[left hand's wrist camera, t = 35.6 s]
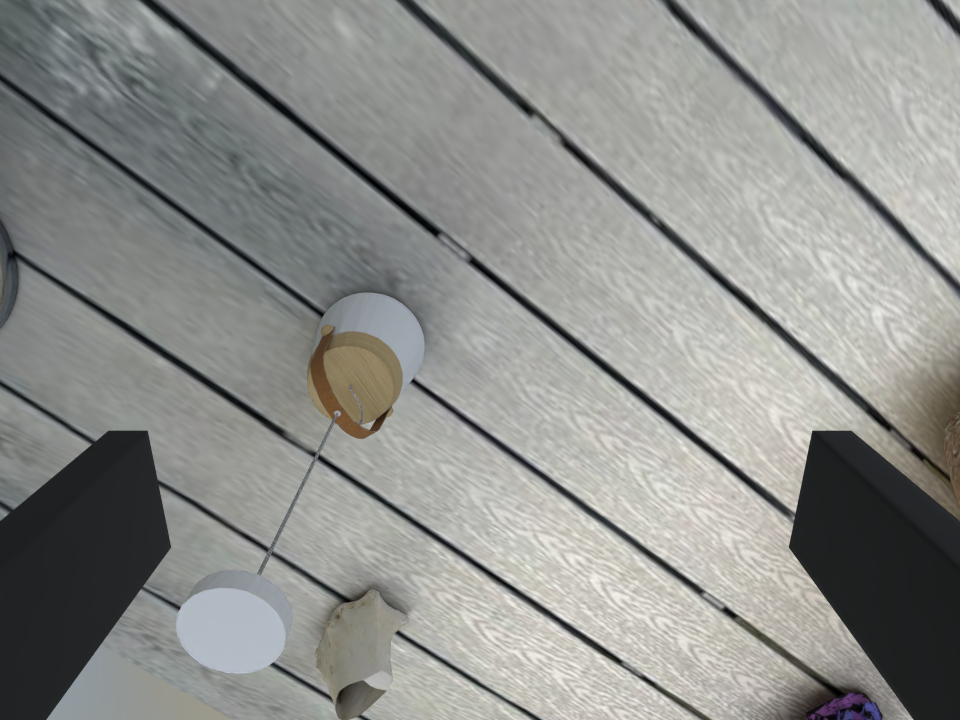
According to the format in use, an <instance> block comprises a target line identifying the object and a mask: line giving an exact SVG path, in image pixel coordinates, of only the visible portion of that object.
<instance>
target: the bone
mask: <svg viewBox="0 0 960 720" xmlns="http://www.w3.org/2000/svg"><path fill="white" fill-rule="evenodd" d="M408 621H409V617H408V616H407V615H406V614H403V613H402V612H400V611H398V610H395V609H393V608H391V607H390V606H388V605H387V604H386V603H385V602H384V601H383V599H382V598H381V596H380V594H379V592H378V591H376V590H374V589H371V590H369V591H368V592H367V593H366V595H365V596H364V597H362V598H361V599H359V600H357V601H354V602H349V603H343V604H340V605H339V606H337V607H336V608H335V610H334V611H333V613H332V615H331V617H330V620H329V621H328V622H327V623H326V628H325V633H324V635H323V638H322V639H321V641H320V644H319V646H318V647H317V649H316V651H315V657H316V664H317V667H316V671H317V672H319V673H320V674H321V676H322V678H323V680H324V681H325V683H326V684H327V686H328V688H329V692H330V695H331V697H332V699H333V702H334V705H335V710H336V713H337V716H338V718H339V719H341V720H349V719H352V718H355V717H357V716H359V715H360V714H362V713H363V712H364V711H365V710H367V709H368V708H369V707H370V706H371V705H372V704H373V703H374V702H375V701H376V700H378V699H379V698H380V697H381V696H382V695H383V694H384V693H385V692H386V691H387V690H388V689H389V688H390V686H391V684H392V680H393V675H392V669H391V661H390V646H391V640H392V636H393V634H394V633H395V632H396V631H398V630H399V629H400V628H401V627H403V626H404V625H405V624H406V623H407V622H408Z"/></svg>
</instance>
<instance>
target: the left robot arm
mask: <svg viewBox="0 0 960 720" xmlns="http://www.w3.org/2000/svg"><path fill="white" fill-rule="evenodd" d="M16 291H17V266H16V261H15V256H14V252H13V249H12V246H11V243H10V240H9V238H8V235H7V233H6V231H5V229H4V227H3V225H2V224H1V222H0V328H1V326H2V325H3V324H4V322H5V321H6V320H7V318H8V316H9V314H10V312H11V310H12V307H13V305H14V301H15V297H16ZM170 548H171V544H170V540H169V535H168V530H167V525H166V520H165V515H164V510H163V505H162V500H161V495H160V490H159V485H158V480H157V475H156V470H155V465H154V460H153V455H152V450H151V445H150V440H149V436H148V431H108V432H107V433H105V434H104V435H103V436H102V437H101V438H99V439H98V440H97V441H96V442H95V443H93V444H92V445H91V446H90V447H89V448H87V449H86V450H85V451H84V452H83V453H81V454H80V455H79V456H78V457H77V458H76V459H74V460H73V461H72V462H71V463H70V464H68V465H67V466H66V467H65V468H64V469H62V470H61V471H60V472H59V473H58V474H56V475H55V476H54V477H53V478H52V479H50V480H49V481H48V482H47V483H46V484H44V485H43V486H42V487H41V488H40V489H38V490H37V491H36V492H35V493H34V494H32V495H31V496H30V497H29V498H28V499H26V500H25V501H24V502H23V503H22V504H20V505H19V506H18V507H17V508H16V509H14V510H13V511H12V512H11V513H10V514H8V515H7V516H6V517H5V518H4V519H2V520H1V521H0V720H46V719H47V718H48V716H49V715H50V714H51V712H52V711H53V710H54V708H55V707H56V705H57V704H58V703H59V701H60V700H61V699H62V697H63V696H64V694H65V693H66V692H67V690H68V689H69V688H70V686H71V685H72V683H73V682H74V681H75V679H76V678H77V676H78V675H79V674H80V672H81V671H82V670H83V668H84V667H85V665H86V664H87V663H88V661H89V660H90V659H91V657H92V656H93V654H94V653H95V652H96V650H97V649H98V648H99V646H100V645H101V643H102V642H103V641H104V639H105V638H106V636H107V635H108V634H109V632H110V631H111V630H112V628H113V627H114V625H115V624H116V623H117V621H118V620H119V619H120V617H121V616H122V614H123V613H124V612H125V610H126V609H127V607H128V606H129V605H130V603H131V602H132V601H133V599H134V598H135V596H136V595H137V594H138V592H139V591H140V590H141V588H142V587H143V585H144V584H145V583H146V581H147V580H148V579H149V577H150V576H151V574H152V573H153V572H154V570H155V569H156V567H157V566H158V565H159V563H160V562H161V561H162V559H163V558H164V556H165V555H166V554H167V552H168V551H169V550H170ZM789 548H790V550H791V551H792V552H793V554H794V555H795V556H796V558H797V559H798V561H799V562H800V563H801V565H802V566H803V567H804V569H805V570H806V572H807V573H808V574H809V576H810V577H811V579H812V580H813V581H814V583H815V584H816V585H817V587H818V588H819V590H820V591H821V592H822V594H823V595H824V596H825V598H826V599H827V601H828V602H829V603H830V605H831V606H832V607H833V609H834V610H835V612H836V613H837V614H838V616H839V617H840V619H841V620H842V621H843V623H844V624H845V625H846V627H847V628H848V630H849V631H850V632H851V634H852V635H853V636H854V638H855V639H856V641H857V642H858V643H859V645H860V646H861V648H862V649H863V650H864V652H865V653H866V654H867V656H868V657H869V659H870V660H871V661H872V663H873V664H874V665H875V667H876V668H877V670H878V671H879V672H880V674H881V675H882V676H883V678H884V679H885V681H886V682H887V683H888V685H889V686H890V688H891V689H892V690H893V692H894V693H895V694H896V696H897V697H898V699H899V700H900V701H901V703H902V704H903V705H904V707H905V708H906V710H907V711H908V712H909V714H910V715H911V717H912V718H913V719H914V720H960V521H959V520H958V519H956V518H955V517H954V516H953V515H952V514H950V513H949V512H948V511H947V510H946V509H944V508H943V507H942V506H941V505H940V504H938V503H937V502H936V501H935V500H934V499H932V498H931V497H930V496H929V495H928V494H926V493H925V492H924V491H923V490H922V489H920V488H919V487H918V486H917V485H916V484H914V483H913V482H912V481H911V480H910V479H908V478H907V477H906V476H905V475H904V474H902V473H901V472H900V471H899V470H898V469H896V468H895V467H894V466H893V465H892V464H890V463H889V462H888V461H887V460H886V459H884V458H883V457H882V456H881V455H880V454H879V453H877V452H876V451H875V450H874V449H873V448H871V447H870V446H869V445H868V444H867V443H865V442H864V441H863V440H862V439H861V438H859V437H858V436H857V435H856V434H855V433H853V432H852V431H812V436H811V440H810V445H809V450H808V455H807V460H806V465H805V470H804V475H803V480H802V485H801V490H800V495H799V500H798V505H797V510H796V515H795V520H794V525H793V530H792V535H791V540H790V544H789Z"/></svg>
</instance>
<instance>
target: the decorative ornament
mask: <svg viewBox="0 0 960 720" xmlns="http://www.w3.org/2000/svg"><path fill="white" fill-rule="evenodd" d="M858 707H863V710H862V711H860V710H857V709H853V708H858ZM865 712H866V713H865ZM806 714H807V719H808V720H882V717H883V716H882V714H881V712H880V710H879V708H878V706H877V704H876V703H874V702H872V701H871V700H870V699H869V698H868V697H867V695H866V694H863V693H858V692H853V693H848V694H844V695H840V696H838V697H836V698H834V699H833V700H831V701H829V702H827V703H825V704H823V705H821V706H819V707H817V708H815V709H813V710H811V711H809V712H807V713H806Z"/></svg>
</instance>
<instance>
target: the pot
mask: <svg viewBox="0 0 960 720" xmlns="http://www.w3.org/2000/svg"><path fill="white" fill-rule="evenodd" d="M943 447H944V452H945V457H946V462H947V467H948V471H949V475H950V479H951V483H952V487H953V491H954V494H955V496H956V499H957V502H958V505H959V508H960V411H959V412H958V413H957V414H956V415H955V416H954V417H953V418H952V419H951V420H950V421H949V422H948V424H947V425H946V429H945V436H944V445H943Z"/></svg>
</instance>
